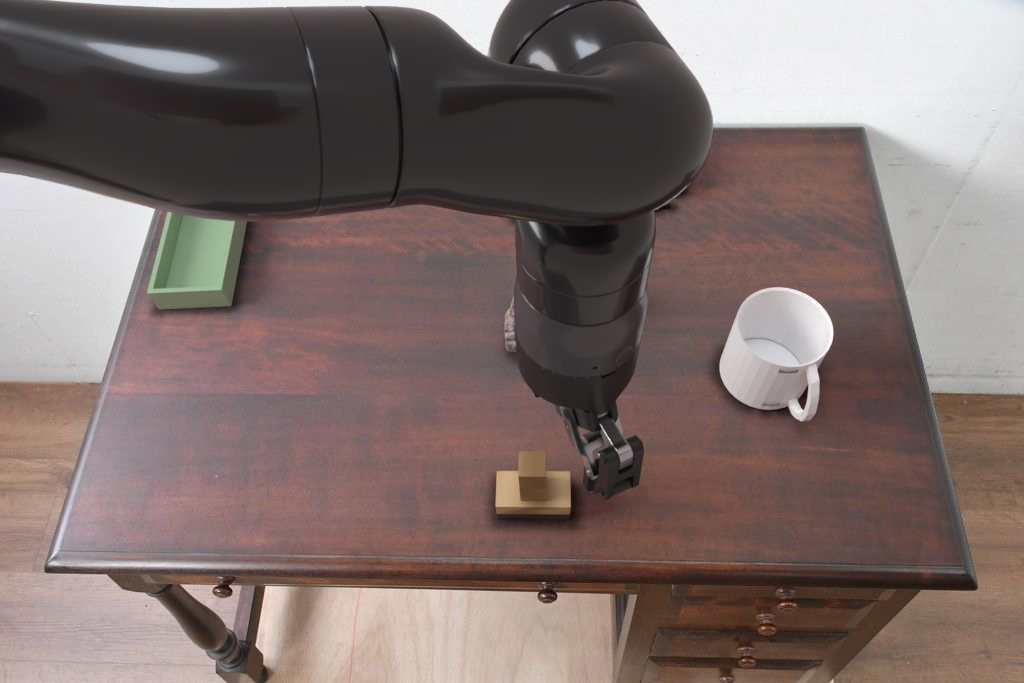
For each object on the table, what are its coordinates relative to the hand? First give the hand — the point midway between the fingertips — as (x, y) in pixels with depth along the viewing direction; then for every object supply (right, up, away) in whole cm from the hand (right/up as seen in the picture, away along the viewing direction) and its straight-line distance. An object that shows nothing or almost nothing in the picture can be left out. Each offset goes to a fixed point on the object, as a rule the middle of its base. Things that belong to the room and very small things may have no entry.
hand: (571, 435), depth 60 cm
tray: (-41, +17, +35) cm, 57 cm away
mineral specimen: (0, +9, +28) cm, 30 cm away
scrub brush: (-2, -9, +17) cm, 20 cm away
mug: (+22, +2, +23) cm, 32 cm away
